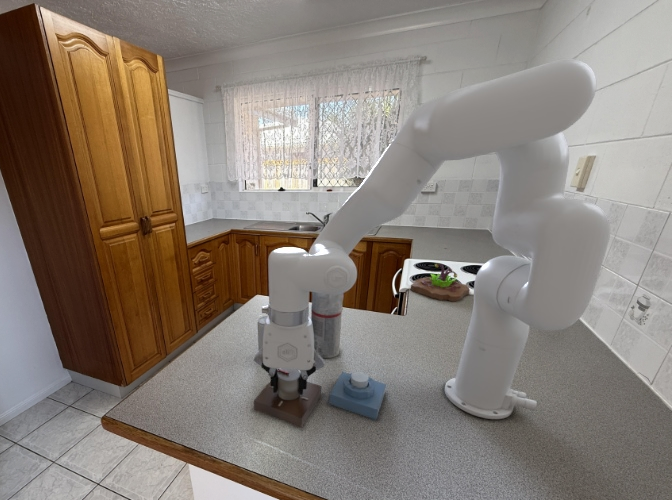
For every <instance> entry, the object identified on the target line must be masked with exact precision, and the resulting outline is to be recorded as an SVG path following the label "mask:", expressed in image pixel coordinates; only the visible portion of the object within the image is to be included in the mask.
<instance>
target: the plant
mask: <svg viewBox="0 0 672 500" xmlns="http://www.w3.org/2000/svg"><path fill="white" fill-rule="evenodd" d="M434 267H435V268H439V267H440V268H441V271H440V273H437V275H436V274H435V273H430V276H426V277H422V278H418V279H414V280H413V283H411V285H410V291H412V292H415V293H418V294H420V295H422V296H426V297H429V298H431V299H436V300H438V301H449V302H459V301H461V300H462V299H463V298H464V297H465V296H469V294H470V291H471V289H470V287H469V286H468V285H467V284H465V283H461V282H458V280H457V278H458V273H456V272H455V271H453V268H450V267H449V268H447V269H446V270H445V268H444V265H443V263H435V264H434ZM449 274H453V278H452V279H451V277H452V276H451V275H449Z"/></svg>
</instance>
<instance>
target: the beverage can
mask: <svg viewBox="0 0 672 500" xmlns="http://www.w3.org/2000/svg"><path fill="white" fill-rule="evenodd" d="M267 317H268V315H265V316H261V317H259V318H258V319H257V343H258V344H257V345H258V352H259V351H260V350H261V349H262V347H263V334H264V326H265V321H266V319H267Z"/></svg>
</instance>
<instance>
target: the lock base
mask: <svg viewBox="0 0 672 500" xmlns="http://www.w3.org/2000/svg"><path fill="white" fill-rule="evenodd" d="M322 389H323V386H322V385H319V384H317V383H313V382H310V381H307V388H306V389H303V395H299V396H298V397H297V398H296V399H294V400H284V399H282V398H280V397H279V395H278V389H277V392H276V393H273V387H272V386H271V383H270V381H269V382H268V383H267V384H266V386H265V387H264V388H262V390H261V391H260V393H258V395H257V396H256V397H255V399H253V409H254V411H257V412H260V413H262V414H264V415H266V416H267V415H268V416H269V417H272V418H275V419H277V420H280V421H281V422H285V423H287V424H290V425H293V426H295V427H297V428H299V429H300V428H301V429H302V428H303V427H304V426H305V425H304V424H305V423H306V421H307V420H308V418H309V416H310V415H311V413H312V411H313V410H314V408H315V406H316V405H317V403H318V401H319V399H320V398H321V396H322Z"/></svg>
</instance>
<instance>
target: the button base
mask: <svg viewBox="0 0 672 500" xmlns="http://www.w3.org/2000/svg"><path fill="white" fill-rule="evenodd" d="M352 373H353V372H351V373H349V372H345V371H341V373H340V375H339V377H338V378H337V380H336V382H335V384H334V386H333V387H332V389H331V391H330V393H329V396H328V397H329V399H328V405H331V406H334V407H337V408H340V409H342V410H346V411H349V412H352V413H354V414H357V415H361V416H362V417H363V416H364V417H367V418H368V419H372V420H375V421H377V419H378V416H379V413H380V410H381V406H382V403H383V400H384V398H385V393H386V388H387V384H386V383H383V382H381V381H376V380H374V379H373V378H371V377H370V376H369V375H367V376H368V378H369V379H368V386H367V387H366V388H365V389H359V388H355V387H353V386H352V385H351V374H352Z"/></svg>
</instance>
